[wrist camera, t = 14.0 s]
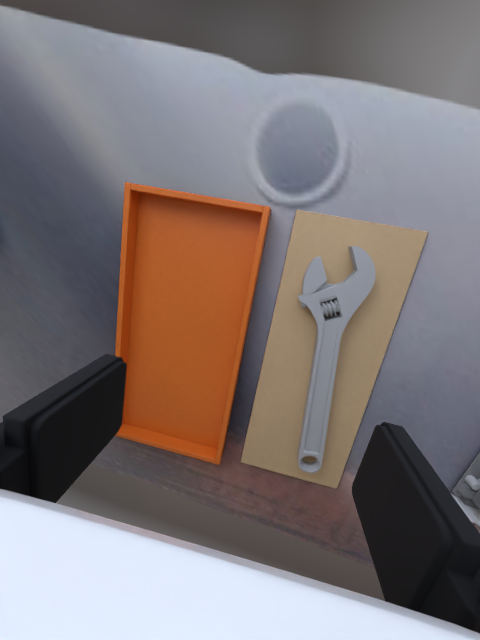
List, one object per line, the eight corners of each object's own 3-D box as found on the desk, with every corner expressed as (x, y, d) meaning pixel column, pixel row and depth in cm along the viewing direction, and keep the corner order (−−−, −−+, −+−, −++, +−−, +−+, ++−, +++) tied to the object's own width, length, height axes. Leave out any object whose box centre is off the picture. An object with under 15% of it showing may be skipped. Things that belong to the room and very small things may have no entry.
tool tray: (120, 424, 35) (110, 434, 33) (136, 187, 27) (124, 182, 25) (223, 453, 34) (219, 465, 32) (271, 210, 26) (270, 206, 24)
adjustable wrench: (318, 465, 32) (320, 477, 30) (265, 452, 33) (264, 464, 31) (376, 252, 25) (383, 252, 23) (307, 242, 26) (309, 242, 24)
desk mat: (240, 460, 34) (240, 462, 33) (296, 210, 26) (296, 209, 25) (336, 487, 32) (337, 489, 32) (426, 232, 24) (428, 231, 24)
